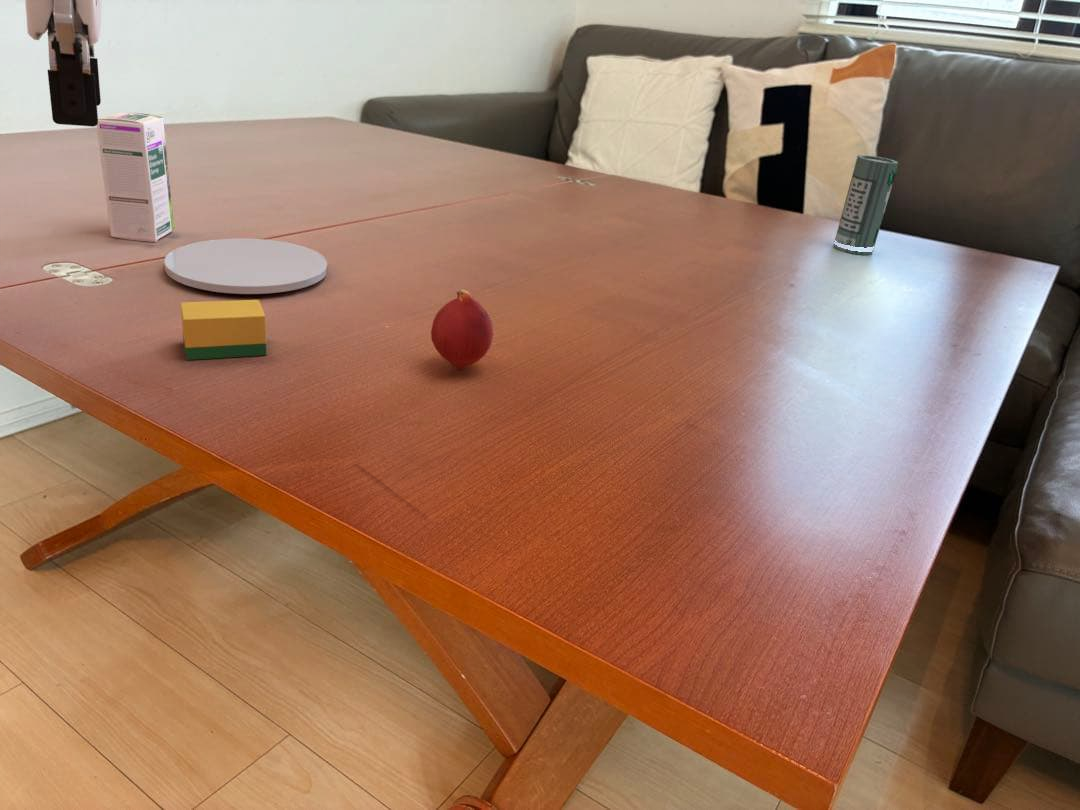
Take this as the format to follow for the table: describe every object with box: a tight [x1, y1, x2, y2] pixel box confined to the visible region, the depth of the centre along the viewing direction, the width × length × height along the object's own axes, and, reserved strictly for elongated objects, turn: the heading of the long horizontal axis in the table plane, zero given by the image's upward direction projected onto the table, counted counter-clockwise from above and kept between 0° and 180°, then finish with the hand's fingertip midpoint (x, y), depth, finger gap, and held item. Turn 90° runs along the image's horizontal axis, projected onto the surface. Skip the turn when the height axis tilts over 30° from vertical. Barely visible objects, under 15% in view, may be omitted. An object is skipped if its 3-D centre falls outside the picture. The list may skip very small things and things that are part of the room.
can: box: [833, 154, 900, 256], centre depth 140 cm, size 6×6×15 cm
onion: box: [430, 289, 494, 370], centre depth 80 cm, size 6×6×8 cm
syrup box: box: [96, 111, 175, 243], centre depth 105 cm, size 6×6×14 cm
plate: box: [163, 237, 328, 295], centre depth 99 cm, size 18×18×2 cm
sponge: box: [180, 299, 268, 361], centre depth 79 cm, size 7×4×4 cm, turn 114°
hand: (78, 113), depth 72 cm, fingers open, 9 cm apart
